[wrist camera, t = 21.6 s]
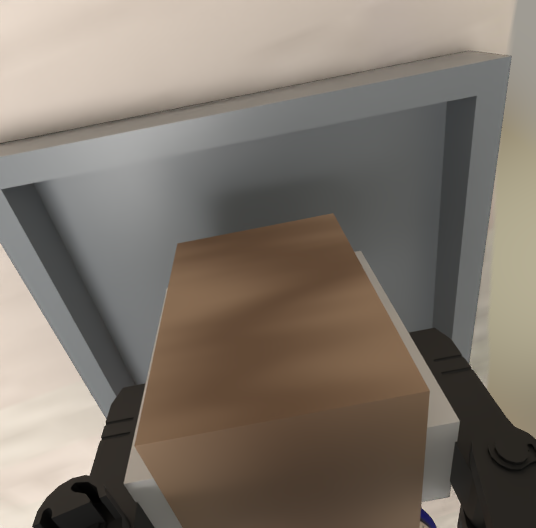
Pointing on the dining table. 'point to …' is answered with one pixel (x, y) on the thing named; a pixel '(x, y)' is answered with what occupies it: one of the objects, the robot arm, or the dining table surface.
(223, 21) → the dining table surface
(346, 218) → the tray
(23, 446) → the dining table surface
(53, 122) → the dining table surface
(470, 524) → the robot arm
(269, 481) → the walnut block
